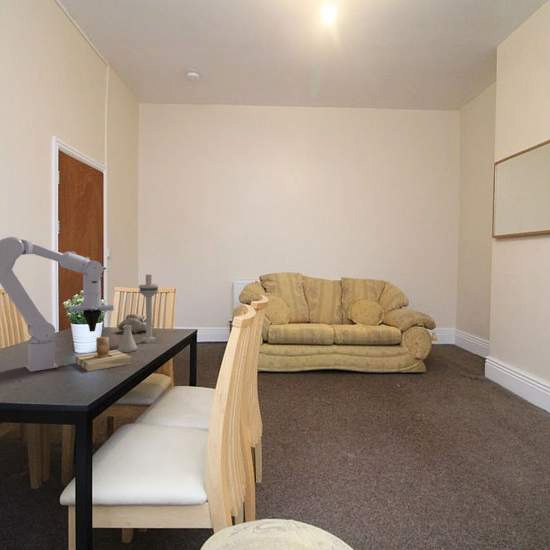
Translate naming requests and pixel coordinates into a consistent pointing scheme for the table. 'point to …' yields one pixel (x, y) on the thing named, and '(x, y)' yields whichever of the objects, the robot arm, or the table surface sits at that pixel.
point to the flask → (127, 340)
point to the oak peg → (102, 347)
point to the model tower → (148, 306)
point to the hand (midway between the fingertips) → (92, 331)
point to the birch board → (102, 360)
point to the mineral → (134, 323)
